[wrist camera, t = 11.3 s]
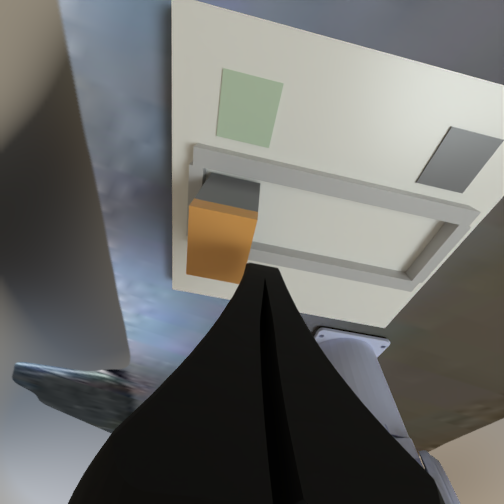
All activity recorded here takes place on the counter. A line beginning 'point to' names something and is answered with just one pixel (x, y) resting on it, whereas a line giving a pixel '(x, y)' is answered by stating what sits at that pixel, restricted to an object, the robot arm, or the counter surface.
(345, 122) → the switch panel
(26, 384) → the counter surface
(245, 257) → the knob
